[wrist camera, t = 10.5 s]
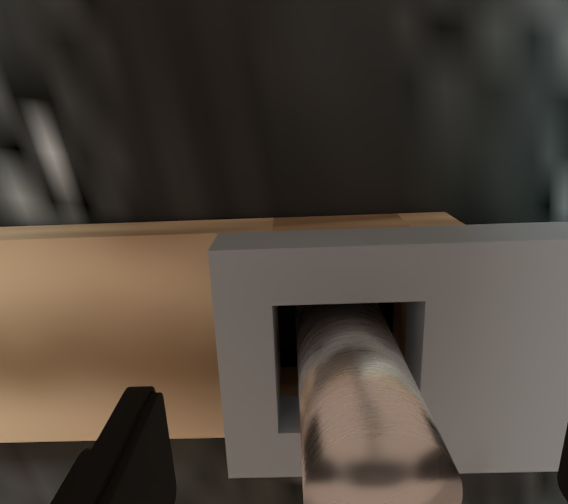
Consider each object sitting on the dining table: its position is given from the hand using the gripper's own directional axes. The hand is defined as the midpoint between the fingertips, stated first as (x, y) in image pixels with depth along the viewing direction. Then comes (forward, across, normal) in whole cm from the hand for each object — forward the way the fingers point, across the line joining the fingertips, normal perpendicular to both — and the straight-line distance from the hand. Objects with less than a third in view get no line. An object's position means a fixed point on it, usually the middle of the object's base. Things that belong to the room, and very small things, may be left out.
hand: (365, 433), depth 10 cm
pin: (+8, 0, +1) cm, 8 cm away
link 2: (+8, -6, +1) cm, 10 cm away
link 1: (+8, +6, +1) cm, 10 cm away
